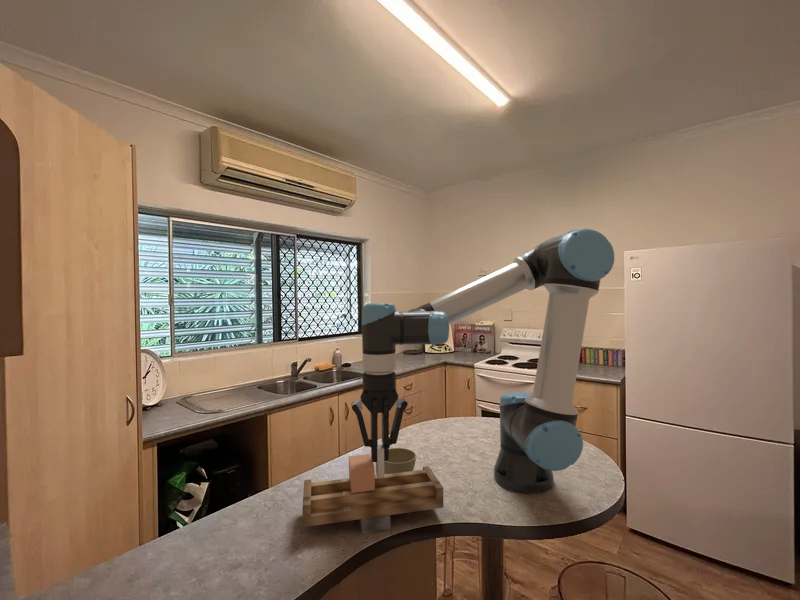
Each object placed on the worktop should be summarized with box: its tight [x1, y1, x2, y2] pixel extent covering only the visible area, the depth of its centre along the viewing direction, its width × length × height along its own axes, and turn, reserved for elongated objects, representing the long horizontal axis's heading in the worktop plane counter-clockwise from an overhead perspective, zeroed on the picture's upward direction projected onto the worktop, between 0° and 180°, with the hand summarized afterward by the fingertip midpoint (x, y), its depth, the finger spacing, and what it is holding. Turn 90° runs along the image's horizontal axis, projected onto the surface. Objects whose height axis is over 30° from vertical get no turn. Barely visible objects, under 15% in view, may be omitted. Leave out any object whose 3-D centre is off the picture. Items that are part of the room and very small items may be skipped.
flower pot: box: [384, 447, 417, 474], centre depth 102 cm, size 10×10×7 cm
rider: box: [348, 453, 376, 493], centre depth 85 cm, size 5×7×7 cm
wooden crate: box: [302, 465, 444, 535], centre depth 86 cm, size 30×12×8 cm, turn 102°
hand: (380, 475), depth 86 cm, fingers closed
